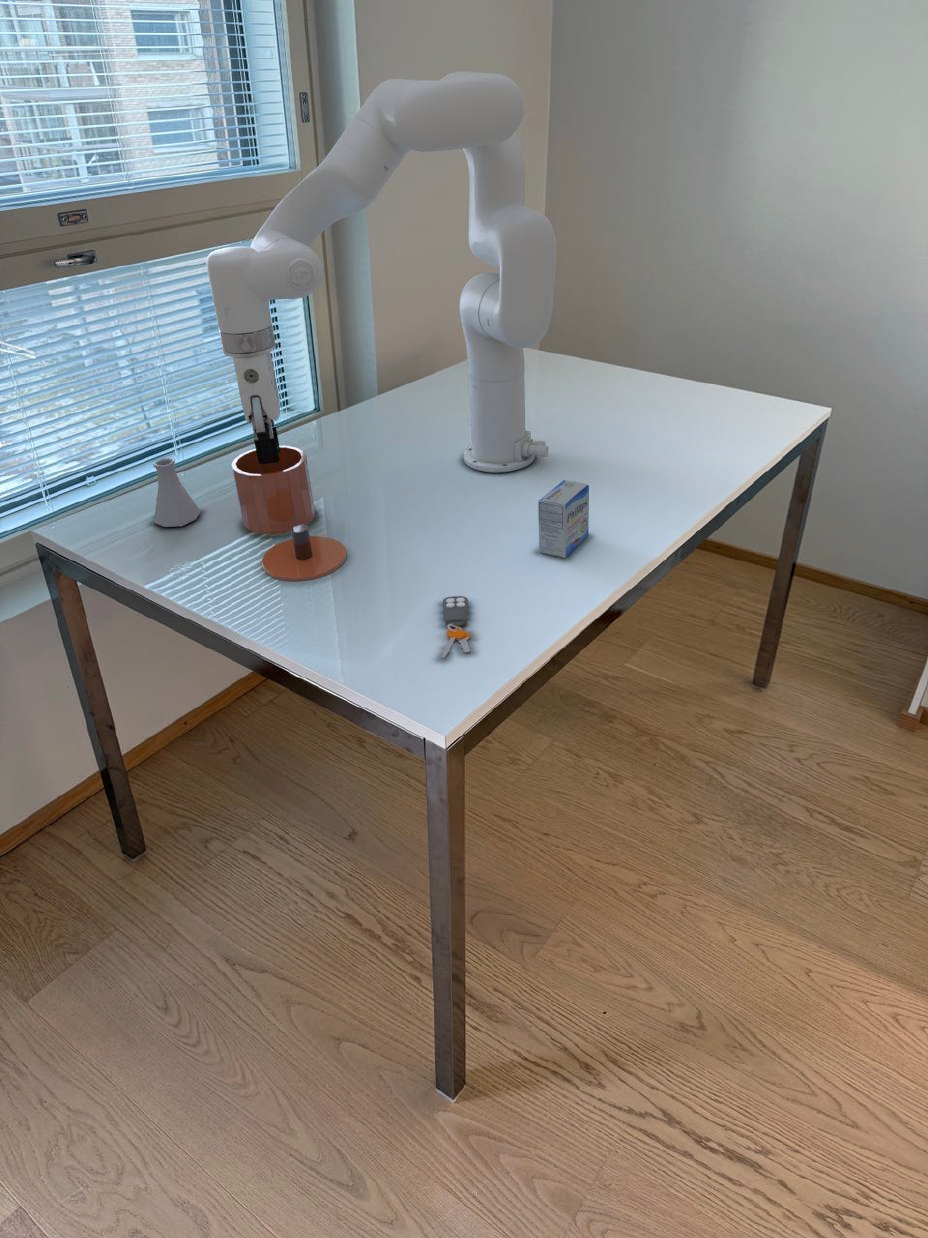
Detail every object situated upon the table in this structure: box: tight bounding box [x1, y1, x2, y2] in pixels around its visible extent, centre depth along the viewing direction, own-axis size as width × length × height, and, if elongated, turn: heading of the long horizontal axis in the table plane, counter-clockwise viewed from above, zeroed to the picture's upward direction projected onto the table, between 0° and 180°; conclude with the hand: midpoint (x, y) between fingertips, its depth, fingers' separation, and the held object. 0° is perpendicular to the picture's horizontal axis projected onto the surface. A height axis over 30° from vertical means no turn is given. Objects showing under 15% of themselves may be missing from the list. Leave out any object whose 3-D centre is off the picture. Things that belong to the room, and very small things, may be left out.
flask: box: [152, 457, 201, 528], centre depth 152 cm, size 7×7×10 cm
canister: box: [230, 445, 316, 535], centre depth 149 cm, size 11×12×10 cm
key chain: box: [441, 595, 471, 659], centre depth 123 cm, size 13×4×2 cm, turn 2°
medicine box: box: [537, 479, 590, 559], centre depth 138 cm, size 8×4×9 cm, turn 148°
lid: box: [261, 524, 347, 582], centre depth 139 cm, size 12×12×6 cm
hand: (269, 456), depth 146 cm, fingers closed on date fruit, 3 cm apart
